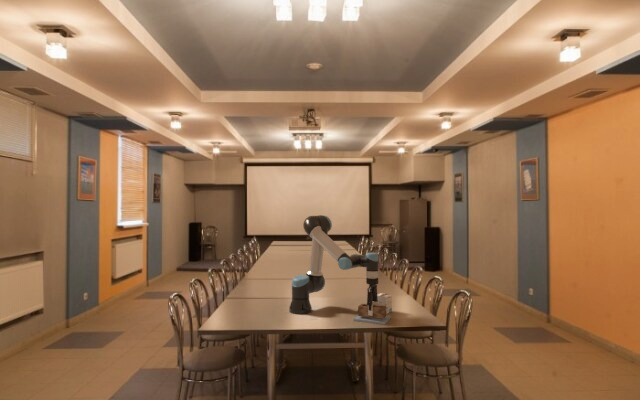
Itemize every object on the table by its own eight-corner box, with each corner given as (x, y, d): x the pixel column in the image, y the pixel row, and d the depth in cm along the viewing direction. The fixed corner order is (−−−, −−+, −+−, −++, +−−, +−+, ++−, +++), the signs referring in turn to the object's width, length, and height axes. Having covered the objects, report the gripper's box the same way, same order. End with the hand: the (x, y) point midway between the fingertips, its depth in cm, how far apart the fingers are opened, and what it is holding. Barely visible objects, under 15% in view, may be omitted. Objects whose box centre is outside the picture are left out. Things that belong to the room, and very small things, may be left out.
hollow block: (386, 315, 267) (386, 306, 267) (383, 318, 259) (383, 308, 260) (362, 313, 273) (362, 303, 273) (358, 315, 266) (358, 306, 266)
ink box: (381, 309, 290) (381, 290, 290) (392, 312, 285) (392, 292, 285) (374, 312, 283) (374, 292, 283) (385, 314, 278) (385, 294, 278)
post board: (353, 320, 264) (353, 309, 264) (360, 315, 277) (360, 304, 277) (385, 324, 256) (385, 312, 256) (390, 318, 269) (390, 307, 269)
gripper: (373, 280, 255) (373, 318, 255) (382, 275, 274) (382, 310, 274) (361, 279, 258) (361, 317, 258) (371, 274, 277) (371, 309, 277)
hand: (372, 313), depth 266 cm, fingers closed on hollow block, 8 cm apart
